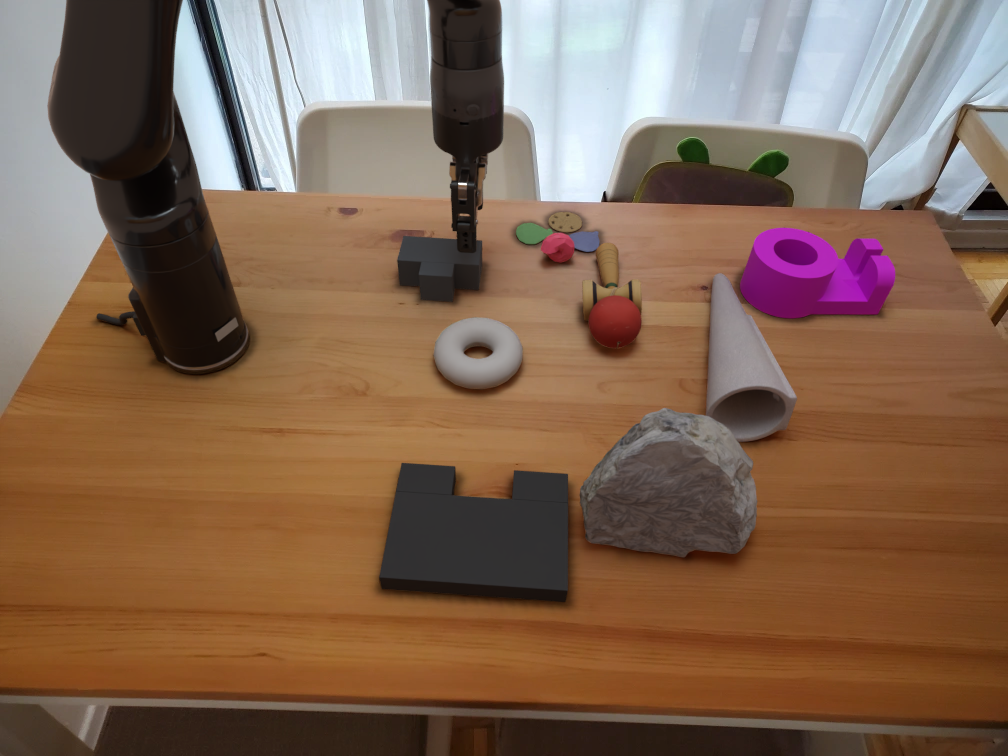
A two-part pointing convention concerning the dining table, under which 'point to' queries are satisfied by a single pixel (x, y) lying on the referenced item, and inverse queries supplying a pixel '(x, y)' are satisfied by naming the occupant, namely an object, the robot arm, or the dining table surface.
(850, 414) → the dining table surface
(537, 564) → the black pad
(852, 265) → the tape dispenser
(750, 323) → the grey hollow cone
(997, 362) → the dining table surface
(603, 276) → the kendama
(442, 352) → the donut
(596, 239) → the toy pieces
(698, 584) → the dining table surface
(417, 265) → the grey pad
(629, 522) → the decorative rock
